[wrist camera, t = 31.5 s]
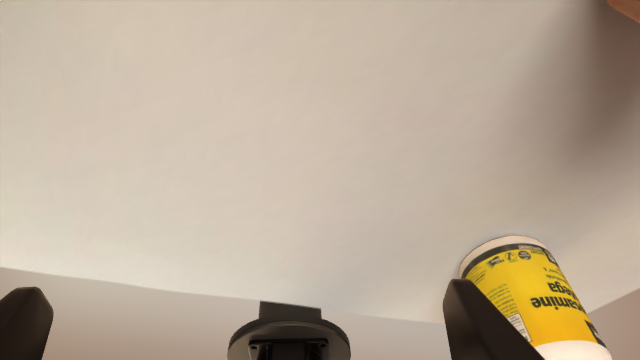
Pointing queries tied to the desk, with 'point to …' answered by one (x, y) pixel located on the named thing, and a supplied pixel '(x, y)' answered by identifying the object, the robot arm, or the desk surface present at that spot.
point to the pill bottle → (534, 297)
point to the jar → (627, 8)
